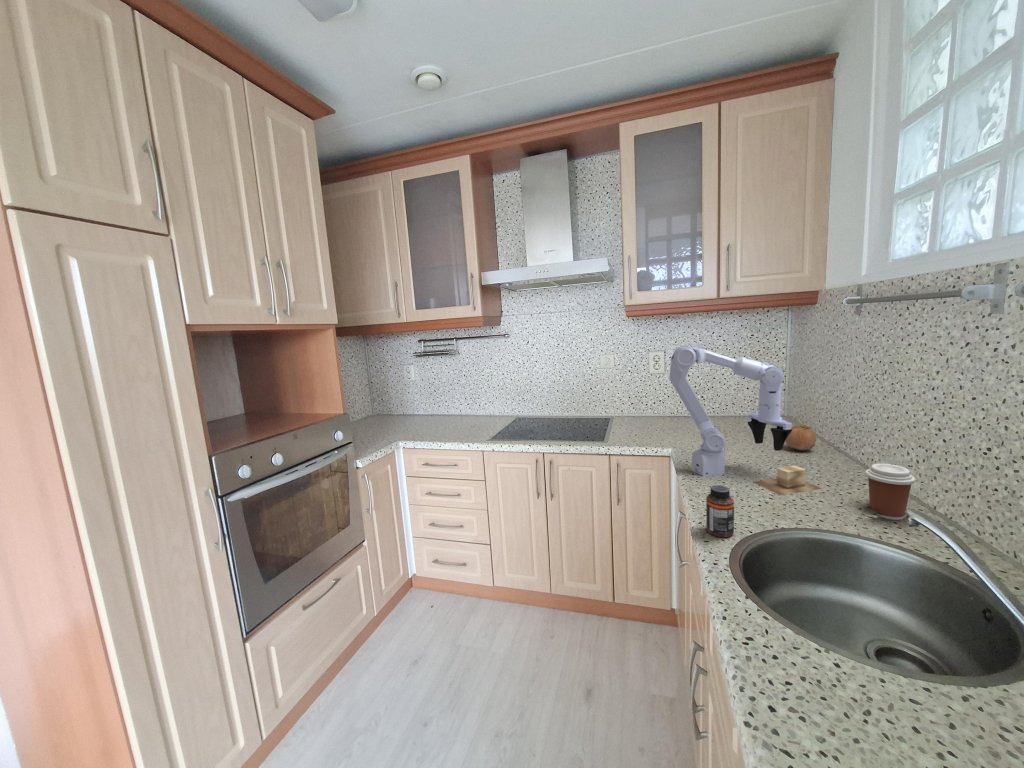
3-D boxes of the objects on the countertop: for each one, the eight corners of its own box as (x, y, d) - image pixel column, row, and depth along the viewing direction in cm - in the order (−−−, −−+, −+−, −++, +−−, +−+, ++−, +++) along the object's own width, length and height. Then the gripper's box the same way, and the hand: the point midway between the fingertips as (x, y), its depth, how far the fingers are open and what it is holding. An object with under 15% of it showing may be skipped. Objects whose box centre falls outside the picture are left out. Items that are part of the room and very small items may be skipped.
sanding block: (787, 488, 114) (787, 472, 113) (776, 484, 117) (777, 468, 117) (804, 486, 115) (805, 469, 114) (794, 481, 118) (794, 465, 118)
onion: (813, 448, 149) (814, 422, 148) (817, 455, 141) (818, 428, 140) (783, 445, 154) (784, 420, 153) (785, 453, 146) (786, 426, 145)
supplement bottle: (709, 523, 100) (709, 481, 98) (736, 530, 96) (736, 486, 95) (703, 534, 95) (703, 489, 94) (731, 541, 92) (731, 495, 90)
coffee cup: (863, 502, 106) (866, 459, 104) (912, 511, 99) (915, 466, 98) (861, 515, 99) (864, 469, 97) (913, 526, 93) (916, 477, 91)
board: (779, 499, 111) (780, 494, 110) (752, 485, 120) (752, 481, 120) (822, 492, 113) (822, 488, 113) (791, 479, 123) (792, 475, 122)
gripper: (801, 407, 115) (799, 452, 117) (762, 399, 130) (761, 439, 132) (780, 409, 114) (778, 454, 116) (743, 401, 129) (742, 441, 130)
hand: (768, 446), depth 124 cm, fingers open, 7 cm apart
